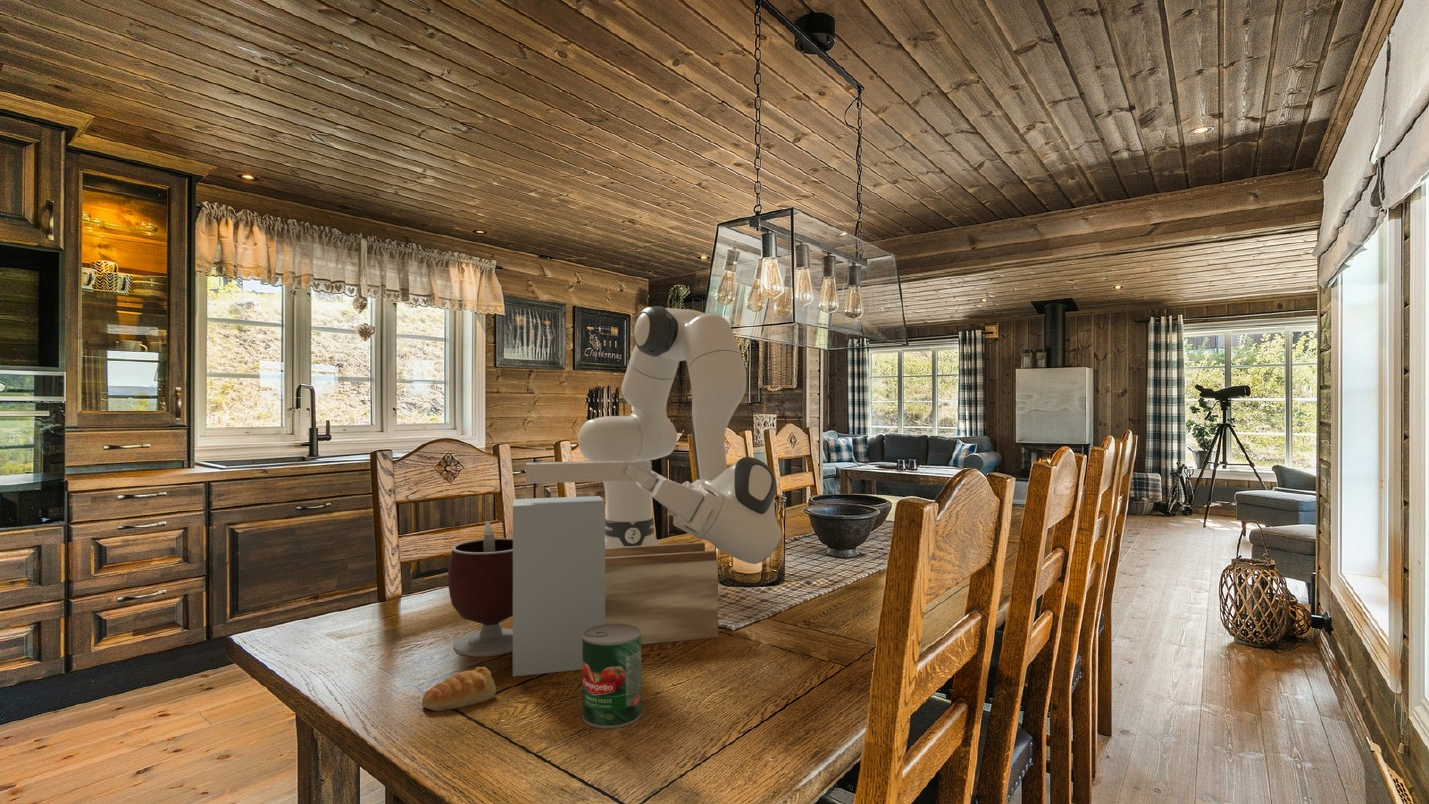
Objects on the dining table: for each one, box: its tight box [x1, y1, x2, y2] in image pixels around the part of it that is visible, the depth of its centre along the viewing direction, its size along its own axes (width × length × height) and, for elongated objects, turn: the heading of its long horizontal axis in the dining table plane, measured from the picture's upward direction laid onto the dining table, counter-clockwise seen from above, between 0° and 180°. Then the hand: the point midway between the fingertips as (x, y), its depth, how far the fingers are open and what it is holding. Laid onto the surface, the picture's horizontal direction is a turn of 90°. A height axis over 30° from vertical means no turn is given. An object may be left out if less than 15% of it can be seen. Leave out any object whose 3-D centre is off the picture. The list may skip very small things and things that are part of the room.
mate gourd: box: [447, 520, 513, 658], centre depth 118 cm, size 16×14×20 cm
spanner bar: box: [525, 460, 653, 484], centre depth 110 cm, size 3×20×3 cm, turn 106°
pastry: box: [421, 666, 497, 712], centre depth 95 cm, size 9×7×4 cm
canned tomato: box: [581, 623, 643, 730], centre depth 90 cm, size 8×8×11 cm
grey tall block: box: [512, 495, 606, 677], centre depth 109 cm, size 8×14×26 cm, turn 106°
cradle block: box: [605, 541, 719, 645], centre depth 123 cm, size 11×23×15 cm, turn 106°
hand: (624, 467), depth 112 cm, fingers closed on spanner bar, 3 cm apart
